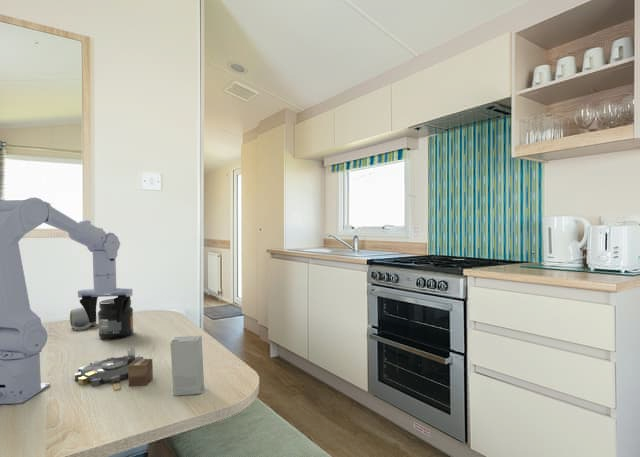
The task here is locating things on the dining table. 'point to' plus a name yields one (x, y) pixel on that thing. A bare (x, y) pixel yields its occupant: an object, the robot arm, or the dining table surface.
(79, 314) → the ceramic mug
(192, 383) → the skincare box
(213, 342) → the dining table surface
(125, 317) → the supplement container
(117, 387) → the pointer
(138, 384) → the walnut block
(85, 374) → the sprocket
